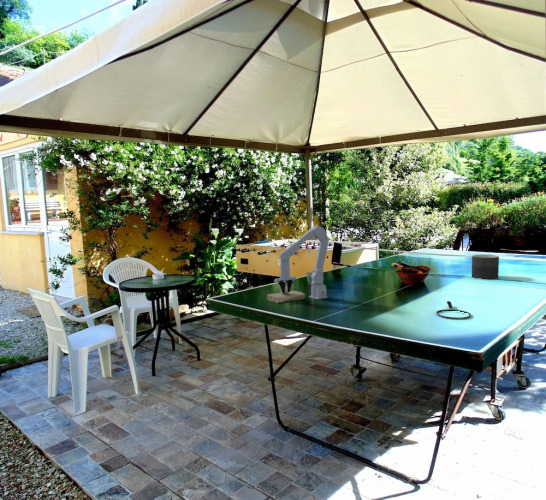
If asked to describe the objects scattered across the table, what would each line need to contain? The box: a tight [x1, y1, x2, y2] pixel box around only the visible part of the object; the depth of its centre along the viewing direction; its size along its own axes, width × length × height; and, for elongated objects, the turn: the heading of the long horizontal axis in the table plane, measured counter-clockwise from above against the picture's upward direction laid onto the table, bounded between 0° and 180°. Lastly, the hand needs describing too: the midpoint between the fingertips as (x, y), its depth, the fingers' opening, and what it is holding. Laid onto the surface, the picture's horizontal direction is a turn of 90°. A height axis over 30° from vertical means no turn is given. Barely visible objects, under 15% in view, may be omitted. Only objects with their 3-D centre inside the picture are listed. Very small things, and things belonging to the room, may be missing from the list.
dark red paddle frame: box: [435, 300, 472, 319], centre depth 229 cm, size 28×16×3 cm, turn 166°
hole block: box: [266, 290, 306, 304], centre depth 271 cm, size 12×20×3 cm, turn 120°
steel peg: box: [283, 281, 288, 295], centre depth 271 cm, size 3×3×10 cm
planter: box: [471, 254, 500, 280], centre depth 323 cm, size 18×18×16 cm
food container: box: [305, 271, 312, 288], centre depth 308 cm, size 12×6×10 cm, turn 62°
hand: (285, 292), depth 271 cm, fingers closed on steel peg, 3 cm apart
